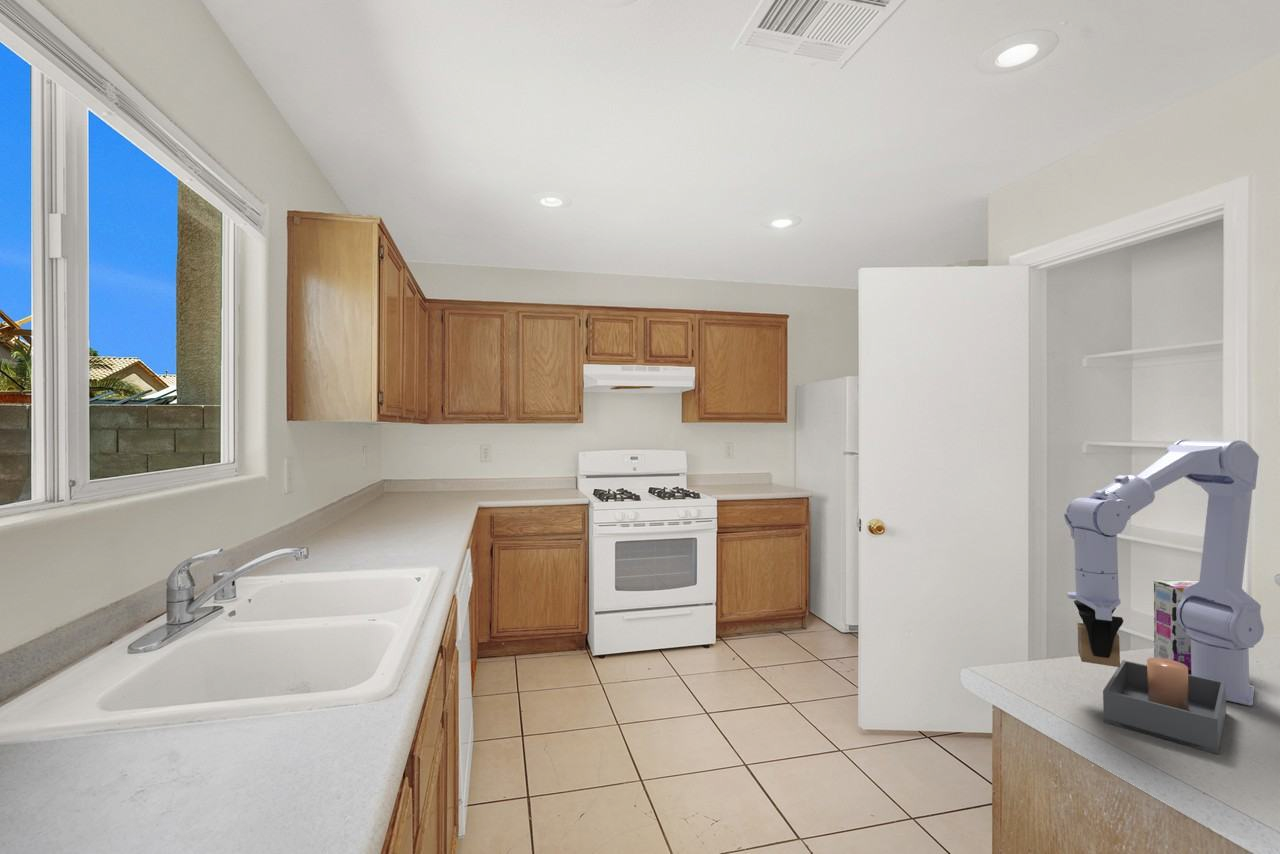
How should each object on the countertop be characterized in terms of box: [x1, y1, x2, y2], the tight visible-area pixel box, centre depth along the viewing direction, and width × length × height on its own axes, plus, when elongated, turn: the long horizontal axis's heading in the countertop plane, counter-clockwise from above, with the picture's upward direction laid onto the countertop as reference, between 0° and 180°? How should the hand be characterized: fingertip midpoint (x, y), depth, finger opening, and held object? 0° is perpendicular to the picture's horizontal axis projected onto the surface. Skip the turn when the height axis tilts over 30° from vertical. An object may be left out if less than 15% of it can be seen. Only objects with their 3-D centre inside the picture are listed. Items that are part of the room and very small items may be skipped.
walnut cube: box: [1076, 622, 1121, 668], centre depth 98 cm, size 5×5×5 cm
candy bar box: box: [1153, 580, 1229, 674], centre depth 111 cm, size 11×5×16 cm, turn 88°
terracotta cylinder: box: [1146, 657, 1189, 711], centre depth 96 cm, size 5×5×7 cm
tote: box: [1102, 659, 1227, 756], centre depth 94 cm, size 17×13×5 cm
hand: (1098, 650), depth 98 cm, fingers closed on walnut cube, 5 cm apart
